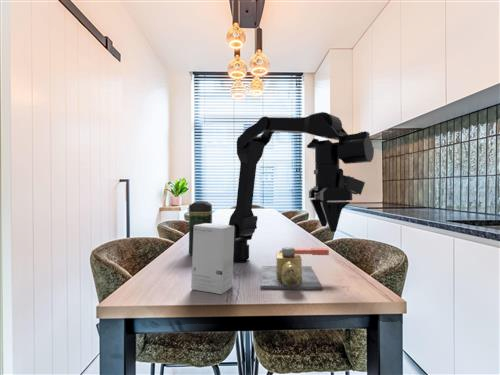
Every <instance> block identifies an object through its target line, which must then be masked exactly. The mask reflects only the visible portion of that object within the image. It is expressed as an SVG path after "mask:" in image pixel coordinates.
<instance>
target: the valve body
mask: <svg viewBox="0 0 500 375" xmlns="http://www.w3.org/2000/svg"><path fill="white" fill-rule="evenodd" d="M275 256H276V259H275V261H276V263H275V264H276V265H262V266H261V276H260V289H261V290H303V291H304V290H307V291H308V290H309V291H314V290H315V291H322V290H323V285H322V284H321V282H320V280H319V278H318V276H317V274H316V273H315V271H314V269H313V268H312V266H310V265H309V266H306V265H305V266H303V265H302V261H303V260H302V256H301V254H295V255H294V256H283V255H282V249H281V250H280V251H278V252H276V255H275Z"/></svg>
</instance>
